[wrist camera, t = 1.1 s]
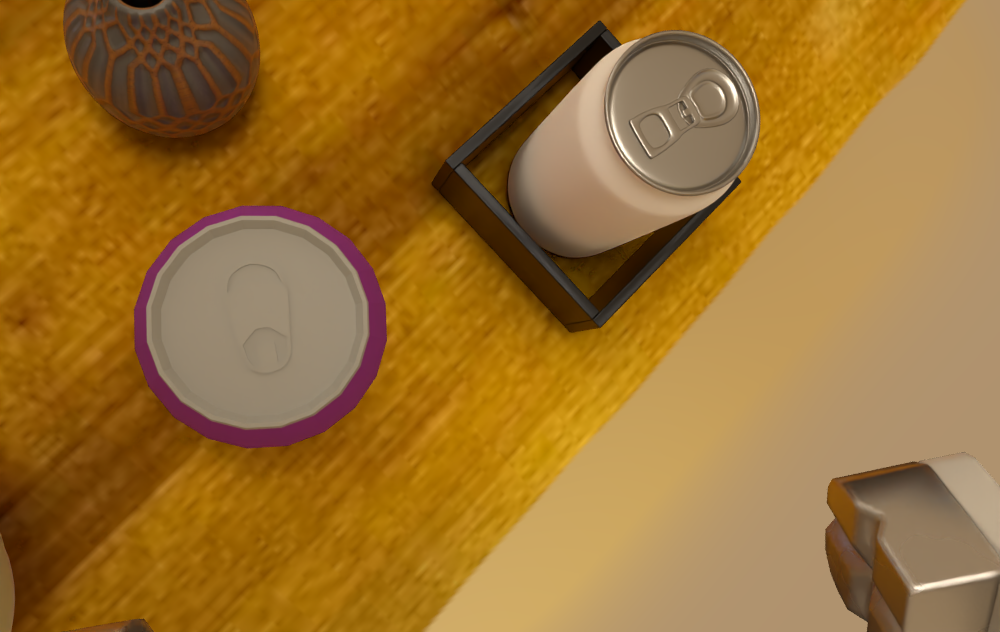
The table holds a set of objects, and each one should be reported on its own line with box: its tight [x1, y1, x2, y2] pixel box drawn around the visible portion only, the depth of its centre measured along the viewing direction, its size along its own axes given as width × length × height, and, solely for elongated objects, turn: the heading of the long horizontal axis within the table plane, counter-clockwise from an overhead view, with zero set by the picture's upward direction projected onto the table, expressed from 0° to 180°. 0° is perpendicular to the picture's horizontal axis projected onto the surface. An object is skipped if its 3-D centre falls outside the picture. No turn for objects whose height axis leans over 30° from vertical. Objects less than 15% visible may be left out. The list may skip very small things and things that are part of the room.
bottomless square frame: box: [432, 21, 741, 332], centre depth 36 cm, size 10×10×4 cm
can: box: [508, 30, 760, 258], centre depth 32 cm, size 6×6×12 cm
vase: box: [63, 0, 260, 138], centre depth 30 cm, size 7×7×9 cm
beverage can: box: [134, 206, 387, 448], centre depth 29 cm, size 8×8×12 cm
